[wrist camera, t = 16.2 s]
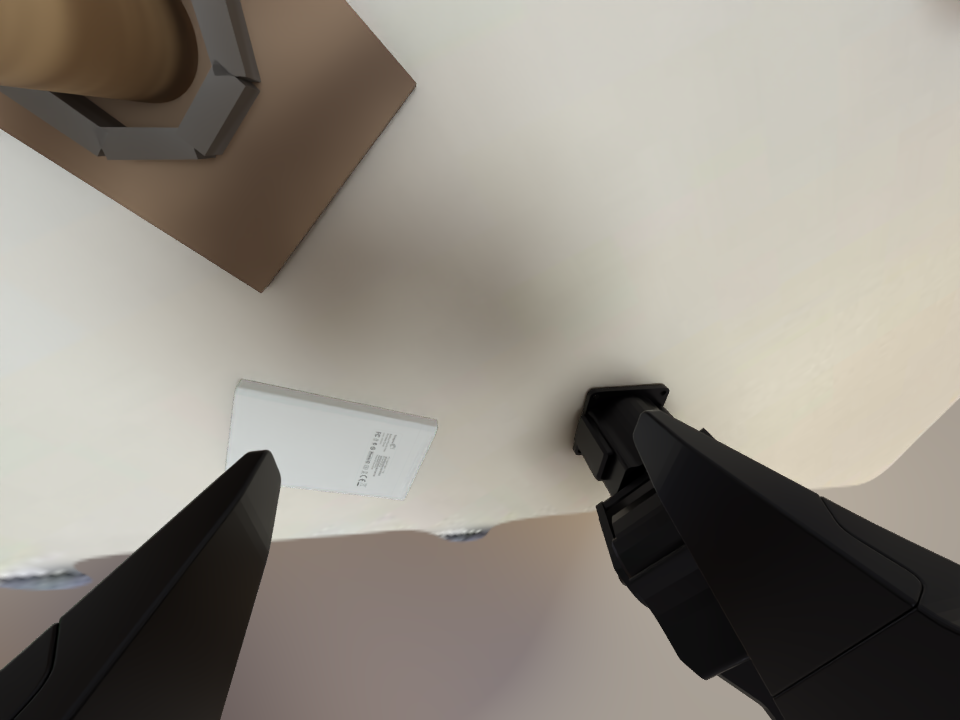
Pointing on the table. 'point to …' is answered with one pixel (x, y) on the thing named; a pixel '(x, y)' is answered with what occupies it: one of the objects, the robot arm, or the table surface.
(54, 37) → the light brown tall cylinder
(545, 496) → the table surface
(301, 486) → the external hard drive
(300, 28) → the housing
